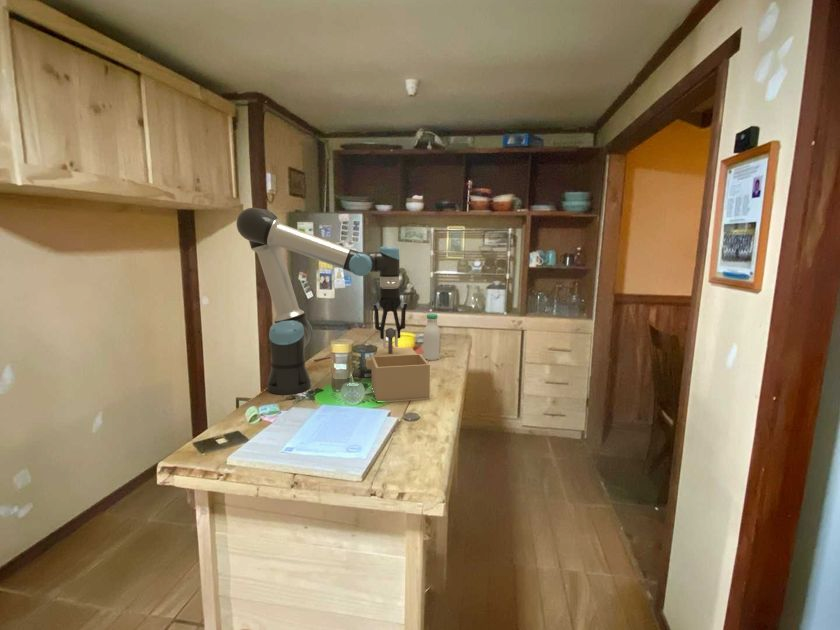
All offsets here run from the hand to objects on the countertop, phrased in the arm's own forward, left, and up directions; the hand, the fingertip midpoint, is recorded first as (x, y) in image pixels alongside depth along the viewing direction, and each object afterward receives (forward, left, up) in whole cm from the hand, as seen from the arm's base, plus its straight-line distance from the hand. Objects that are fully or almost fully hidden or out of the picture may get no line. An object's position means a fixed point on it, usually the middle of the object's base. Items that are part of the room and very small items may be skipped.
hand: (390, 346), depth 174 cm
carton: (0, -22, -11) cm, 25 cm away
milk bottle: (+22, +20, -12) cm, 32 cm away
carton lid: (0, 0, -6) cm, 6 cm away
